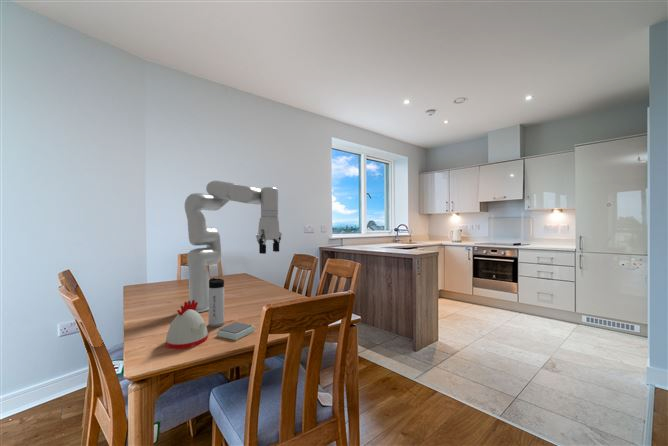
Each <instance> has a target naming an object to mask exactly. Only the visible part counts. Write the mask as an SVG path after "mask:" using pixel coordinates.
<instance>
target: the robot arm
mask: <svg viewBox="0 0 668 446" xmlns="http://www.w3.org/2000/svg"><path fill="white" fill-rule="evenodd" d="M230 201H231V202H237V203H243V204H252V205H260V218H259V222H258V232H257V233H256V234H255V237H256V241H257V243H258V246H259V247H258V248H259V249H258V250H259V254H261V255H262V254H263V255H264V254H265V255H266V254H267V244H266V242H267V241H272V242H273V243H272V252H275V253H279V252H280V243H281V240H282V234H283V233H282V232H281V231H280V223H279V190H278V188H276V187H272V186H267V187H266V186H265V187H262V188H260V187H259V188H258V187H255V186H254V187H252V186H247V185H240V184H237V183H233V182H229V181H228V182H226V181H222V180H221V181H220V180H211V181H209V182H208V183H207V184H206V193H203V192H201V193H200V192H196V193H190V194H189V195H188V196H187V197H186V198H185V201H184V211H185V212H184V213H185V215H186V220H187V231H188V233H187V234H188V240H189V243H190V244H191V245H192V246H195V247H196V246H205V247H199V248H194V249H191V250H190V251H189V252H187V254H186V261H187V267H188V286H189V287H188V294H189V295H188V300H186V301H185V302H187V305H188V301H190V302H191V303H192V300H194V301H195V303H196V302H198V304H197V307H196V309H195V311H196V312H198V313H203V312H207V311H208V312H209V280H210V272H209V270H208V268H207V266H212V265H216V264H218V263H219V262H220V261H221V259H222V245H221V236H220V232H219V231H218V229H216V228H215V227H211V226H209V227H207V223H206V221H207V219H206V217H205V215H204V214H203V212H202V211H203V210H204V211H213V212H215V211H216V212H217V211H219V210H221V209H222V208H223V207H224V206H225V205H226V204H227V203H229V202H230Z"/></svg>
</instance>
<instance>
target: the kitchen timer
mask: <svg viewBox="0 0 668 446" xmlns="http://www.w3.org/2000/svg"><path fill="white" fill-rule="evenodd" d="M187 301H188V300H187ZM183 304H184V305H180V309H181V310H179V309H177V310H176V311H177V315H176V316H175V317H174V319H173V320H172V322H170V324H169V327H168V330H167V334H166V339H165V344H166V345H165V347H167V349H173V350H182V349H189V348H193V347H196V346H199V345H201V344H203V343H205V342H206V341H208V335H209V334H208V328H207V325H206V323H205V320H204V319H203V317H202V315H201V314H200V312H196V311H195V309H196V307H197V304H198V302H196V303H195V301H194V300H192V303H191V302H190V301H188V304H187V302H186V301H184V303H183Z"/></svg>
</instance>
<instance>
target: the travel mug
mask: <svg viewBox="0 0 668 446" xmlns="http://www.w3.org/2000/svg"><path fill="white" fill-rule="evenodd" d="M224 325H225V280H224V279H223V278H209V310H208V327H210V328H219V327H222V326H224Z"/></svg>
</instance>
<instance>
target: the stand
mask: <svg viewBox="0 0 668 446" xmlns="http://www.w3.org/2000/svg"><path fill="white" fill-rule="evenodd" d="M253 332H255V325H252V324H247V323H241V322H238V321H237V322H235V321H234V322H232V323H230V324H228V325H226V326H223V327H221V328H218V329H217V330H216V337H220V338H224V339H228V340H233V341H237V340H239V339H241V338H243V337H245V336H247V335H249V334H251V333H253Z"/></svg>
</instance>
